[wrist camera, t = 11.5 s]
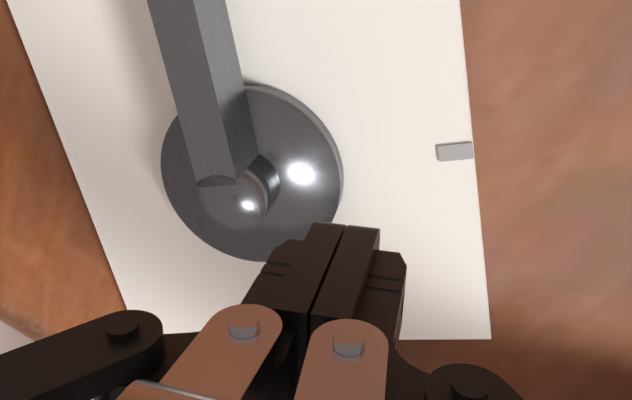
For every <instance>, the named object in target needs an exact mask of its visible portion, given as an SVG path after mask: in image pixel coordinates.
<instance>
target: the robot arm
mask: <svg viewBox="0 0 632 400" xmlns="http://www.w3.org/2000/svg"><path fill="white" fill-rule="evenodd" d="M379 247H380V229H379V228H371V227H363V226H354V225H347V226H346V225H345V224H337V223H328V222H320V221H314V222H313V224H312V226H311V228H310V230H309V231H308V233H307V235H306V237H305V239H304V241H303V240H295V239H288V240H287V241H285V242H284V243H282V244H281V245H279V246H278V247H276V248H274V250H273V251H272V253H271V255H270V256H269V258H268V259H267V261H266V264H264V266H263V268H262V269H261V271H260V274H258V276H257V277H256V279H255V281H254V282H253V284H252V286H251V287H250V289H249V290H248V292H247V294H246V295H245V297H244V299H243V300H242V302H241V303H240V304H239V305H234V306H230V307H227V308H225V309H222V310H221V311H219V312H217V313H216V314H215V315H213V316H212V317H211V318H210V320H209V321H208V322H207V323H206V325H205V326H204V327H203V328H202V330H201V331H199V332H190V333H173V334H164V333H163V325H162V322H161V320H160V319H159V318H158V317H157V316H156V315H154V314H152V313H150V312H147V311H142V310H124V311H118V312H114V313H111V314H108V315H105V316H103V317H100V318H97V319H95V320H92V321H89V322H87V323H84V324H81V325H78V326H76V327H73V328H70V329H68V330H65V331H62V332H60V333H57V334H54V335H52V336H49V337H46V338H44V339H41V340H38V341H36V342H33V343H30V344H28V345H25V346H22V347H19V348H17V349H14V350H11V351H9V352H7V353H3V354H1V355H0V400H91V399H93V398H94V400H524V399H523V398H521V397H520V396H519V395H518V394H517V393H516V392H515V391H514V390H513V389H512V388H511V387H510V386H509V385H508V384H507V383H506V382H505V381H503V380H502V379H501V378H500V377H499V376H497V375H496V374H494V373H492V372H490V371H488V370H486V369H484V368H481V367H478V366H474V365H469V364H449V365H445V366H442V367H440V368H437V369H436V370H434V371H433V372H432V373H431V374H428V373H426V372H423V371H421V370H419V369H417V368H415V367H413V366H412V365H410V364H409V363H407V362H406V361H405V360H404V359H403V358H402V357H401V356H400V355H399V354H398V352H397V348H398V342H399V336H400V331H401V325H402V316H403V305H404V294H405V282H406V271H407V265H406V263H405V261H404V260H403V258H402V256H401V254H400V253H398V252H390V251H382V250H379Z"/></svg>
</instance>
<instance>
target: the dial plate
mask: <svg viewBox="0 0 632 400" xmlns="http://www.w3.org/2000/svg"><path fill="white" fill-rule="evenodd" d="M225 2H226V6H227V11H228V15H229V20H230V24H231V29H232V33H233V38H234V42H235V46H236V51H237V55H238V60H239V64H240V69H241V73H242V78H243V82H244V83H252V84H260V85H265V86H269V87H273V88H275V89H278V90H281V91H283V92H285V93H287V94H289V95H291V96H293V97H295V98H296V99H298V100H299V101H301V102H302V103H304V104H305V105H306V106H307V107H308V108H310V109H311V110H312V111H313V112H314V113H315V114H316V115H317V116H318V117H319V118H320V120H321V121H322V122H323V123H324V125H325V126H326V127H327V129H328V130H329V132H330V133H331V135H332V137H333V139H334V141H335V143H336V145H337V148H338V150H339V153H340V156H341V161H342V165H343V174H344V185H343V193H342V198H341V201H340V204H339V207H338V210H337V212H336V214H335V216H334V219H333V221H332V222H331V223H337V224H345V225H346V226H347V225H354V226H363V227H371V228H379V229H380V247H379V250H382V251H390V252H398V253H400V254H401V256H402V258H403V260H404V261H405V263H406V265H407V271H406V282H405V294H404V305H403V316H402V325H401V331H400V336H399V340H435V339H491V324H490V313H489V303H488V292H487V282H486V271H485V261H484V250H483V240H482V229H481V219H480V208H479V198H478V187H477V177H476V166H475V156H474V145H473V135H472V124H471V114H470V103H469V93H468V82H467V72H466V61H465V51H464V40H463V30H462V19H461V9H460V0H225ZM7 3H8V6H9V8H10V11H11V13H12V16H13V18H14V21H15V23H16V26H17V29H18V31H19V34H20V36H21V39H22V41H23V44H24V46H25V49H26V52H27V54H28V57H29V59H30V62H31V64H32V67H33V70H34V72H35V75H36V77H37V80H38V82H39V85H40V87H41V90H42V93H43V95H44V98H45V100H46V103H47V105H48V108H49V110H50V113H51V116H52V118H53V121H54V123H55V126H56V128H57V131H58V133H59V136H60V139H61V141H62V144H63V146H64V149H65V151H66V154H67V156H68V159H69V162H70V164H71V167H72V169H73V172H74V174H75V177H76V180H77V182H78V185H79V187H80V190H81V192H82V195H83V197H84V200H85V203H86V205H87V208H88V210H89V213H90V215H91V218H92V220H93V223H94V226H95V228H96V231H97V233H98V236H99V238H100V241H101V243H102V246H103V249H104V251H105V254H106V256H107V259H108V261H109V264H110V267H111V269H112V272H113V274H114V277H115V279H116V282H117V284H118V287H119V290H120V292H121V295H122V297H123V300H124V302H125V305H126V307H127V310H142V311H147V312H150V313H152V314H154V315H156V316H157V317H158V318H159V319H160V320H161V322H162V325H163V333H164V334H173V333H190V332H199V331H201V330H202V328H203V327H204V326H205V325H206V323H207V322H208V321H209V320H210V318H211V317H212V316H213V315H215V314H216V313H217V312H219V311H221V310H222V309H225V308H227V307H230V306H234V305H239V304H240V303H241V302H242V300H243V299H244V297H245V295H246V294H247V292H248V290H249V289H250V287H251V286H252V284H253V282H254V281H255V279H256V277H257V276H258V274H260V271H261V269H262V268H263V266H264V264H266V262H255V261H248V260H243V259H239V258H235V257H232V256H230V255H227V254H225V253H222V252H220V251H218V250H216V249H215V248H213V247H211V246H210V245H208V244H207V243H205V242H204V241H202V240H201V239H200V238H199V237H197V236H196V235H195V234H194V233H193V232H192V231H191V230H190V229H189V228H188V227H187V226H186V225H185V224H184V222H183V221H182V220H181V219H180V218H179V216H178V215H177V213H176V211H175V210H174V208H173V207H172V205H171V203H170V201H169V199H168V196H167V193H166V191H165V188H164V184H163V180H162V175H161V166H160V163H161V150H162V144H163V141H164V138H165V134H166V132H167V130H168V128H169V126H170V124H171V123H172V121H173V120H174V119H175V117H176V116H177V115H178V113H177V109H176V105H175V102H174V98H173V95H172V91H171V87H170V84H169V80H168V76H167V73H166V69H165V65H164V62H163V58H162V55H161V51H160V47H159V44H158V40H157V36H156V33H155V29H154V26H153V22H152V18H151V15H150V11H149V7H148V4H147V0H7Z"/></svg>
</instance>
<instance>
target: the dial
mask: <svg viewBox="0 0 632 400" xmlns="http://www.w3.org/2000/svg"><path fill="white" fill-rule="evenodd" d="M147 4H148V7H149V11H150V15H151V18H152V22H153V26H154V29H155V33H156V36H157V40H158V44H159V47H160V51H161V55H162V58H163V62H164V65H165V69H166V73H167V76H168V80H169V84H170V87H171V91H172V95H173V98H174V102H175V105H176V109H177V113H178V115H177V116H176V117H175V119H174V120H173V121H172V123H171V124H170V126H169V128H168V130H167V132H166V134H165V138H164V141H163V144H162V150H161V163H160V166H161V175H162V180H163V184H164V188H165V191H166V193H167V196H168V199H169V201H170V203H171V205H172V207H173V208H174V210H175V211H176V213H177V215H178V216H179V218H180V219H181V220H182V221H183V222H184V224H185V225H186V226H187V227H188V228H189V229H190V230H191V231H192V232H193V233H194V234H195V235H196V236H197V237H199V238H200V239H201V240H202V241H204V242H205V243H207V244H208V245H210V246H211V247H213V248H215V249H216V250H218V251H220V252H222V253H225V254H227V255H230V256H232V257H235V258H239V259H243V260H248V261H255V262H266V261H267V259H268V258H269V256H270V255H271V253H272V251H273V250H274V248H276V247H278V246H279V245H281V244H282V243H284V242H285V241H287V240H288V239H295V240H303V241H304V239H305V237H306V235H307V233H308V231H309V230H310V228H311V226H312V224H313V222H314V221H320V222H328V223H331V222H332V221H333V219H334V216H335V214H336V212H337V210H338V207H339V204H340V201H341V198H342V193H343V185H344V174H343V165H342V161H341V156H340V153H339V150H338V148H337V145H336V143H335V141H334V139H333V137H332V135H331V133H330V132H329V130H328V129H327V127H326V126H325V125H324V123H323V122H322V121H321V120H320V118H319V117H318V116H317V115H316V114H315V113H314V112H313V111H312V110H311V109H310V108H308V107H307V106H306V105H305V104H304V103H302V102H301V101H299V100H298V99H296V98H295V97H293V96H291V95H289V94H287V93H285V92H283V91H281V90H278V89H275V88H273V87H269V86H265V85H260V84H252V83H244V82H243V78H242V73H241V69H240V64H239V60H238V55H237V51H236V46H235V42H234V38H233V33H232V29H231V24H230V20H229V15H228V11H227V6H226V2H225V0H147Z"/></svg>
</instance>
